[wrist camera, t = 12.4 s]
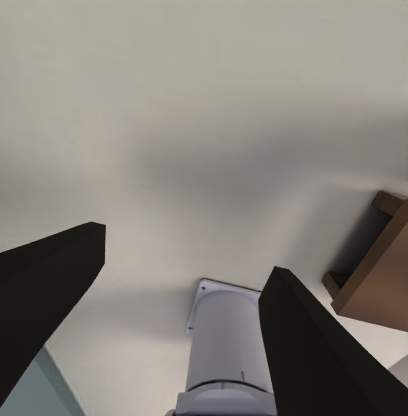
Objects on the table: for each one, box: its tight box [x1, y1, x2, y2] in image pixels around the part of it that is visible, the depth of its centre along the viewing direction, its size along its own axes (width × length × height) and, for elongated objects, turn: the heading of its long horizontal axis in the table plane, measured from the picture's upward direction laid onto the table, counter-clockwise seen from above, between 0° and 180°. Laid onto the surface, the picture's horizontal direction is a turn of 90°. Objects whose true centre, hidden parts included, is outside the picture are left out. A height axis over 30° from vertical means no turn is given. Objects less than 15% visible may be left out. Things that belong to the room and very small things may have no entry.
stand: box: [322, 191, 408, 332], centre depth 17 cm, size 11×8×4 cm
